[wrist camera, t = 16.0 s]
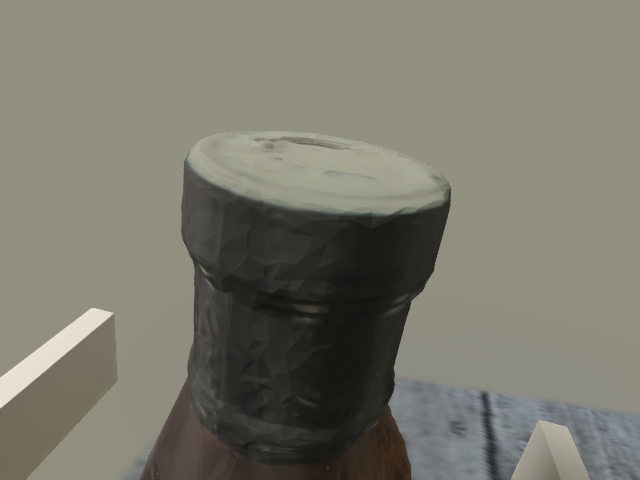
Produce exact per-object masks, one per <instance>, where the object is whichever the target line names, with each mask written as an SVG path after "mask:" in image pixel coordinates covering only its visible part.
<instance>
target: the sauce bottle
mask: <svg viewBox="0 0 640 480" xmlns="http://www.w3.org/2000/svg"><path fill="white" fill-rule="evenodd" d="M183 189H184V190H183V198H182V206H181V207H182V226H181V227H182V228H181V233H182V238H183V241H184V243H185V245H186V247H187V249H188V252H189V255H190V257H191V258H192V260H193V263H194V268H195V276H194V286H195V295H194V342H193V345H192V347H191V350H190V356H189V360H188V377H187V379H186V381H185V383H184V385H183V387H182V390H181V392H180V394H179V396H178V398H177V400H176V402H175V404H174V406H173V408H172V410H171V412H170V414H169V416H168V418H167V421H166V423H165V425H164V427H163V429H162V431H161V433H160V435H159V437H158V439H157V441H156V443H155V445H154V447H153V449H152V451H151V454H150V456H149V458H148V460H147V462H146V464H145V466H144V469H143V471H142V473H141V476H140V479H139V480H412V479H411V465H410V462H409V460H408V457H407V451H406V447H405V442H404V439H403V437H402V436H401V434H400V432H399V429H398V427H397V424H396V422H395V419H394V418H393V417H392V414H391V409H390V407H389V405H388V402H389V400H390V398H391V396H392V394H393V391H394V386H395V383H394V376H395V373H394V369H393V367H394V364H395V359H396V356H397V352H398V348H399V344H400V340H401V337H402V333H403V329H404V325H405V322H406V318H407V315H408V312H409V309H410V305H411V301H412V300H413V299H414V298H415V297H416V296H417V295H418V294H420V292H422V291H423V289H424V287H425V284H426V282H427V281H428V279H429V277H430V276H431V274H432V273H433V271H434V266H435V261H436V258H437V254H438V250H439V247H440V243H441V239H442V236H443V232H444V228H445V225H446V221H447V217H448V213H449V209H450V197H451V188H450V185H449V183H448V181H447V180H446V179H445V177H444V176H442V174H441V173H439V172H438V171H436V170H434V169H433V168H432V167H431V166H429V165H428V164H424V163H421V162H419V161H416V160H414V159H412V158H411V157H409V156H407V155H405V154H402V153H399V152H396V151H394V150H391V149H388V148H385V147H381V146H375V145H373V144H370V143H365V142H360V141H356V140H351V139H346V138H341V137H333V136H324V135H321V134H318V133H298V132H284V131H268V132H253V131H242V132H227V133H220V134H216V135H212V136H210V137H207V138H204V139H202V140H200V141H198V142H197V143H196V144H195V146H194V147H193V148H192V150H191V151H190V152H189V154H188V156H187V158H186V160H185V161H184V186H183Z"/></svg>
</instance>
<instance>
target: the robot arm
mask: <svg viewBox="0 0 640 480" xmlns="http://www.w3.org/2000/svg"><path fill="white" fill-rule="evenodd" d="M116 381H117V361H116V342H115V322H114V313H110V312H107V311H103V310H99V309H94V308H91V309H90V310H89V311H87V312H86V313H85V314H83V315H82V316H81V317H79V318H78V319H77V320H75V321H74V322H73V323H72V324H70V325H69V326H68V327H66V328H65V329H64V330H62V331H61V332H60V333H58V334H57V335H56V336H55V337H53V338H52V339H51V340H49V341H48V342H47V343H45V344H44V345H43V346H41V347H40V348H39V349H38V350H36V351H35V352H34V353H32V354H31V355H30V356H28V357H27V358H26V359H24V360H23V361H22V362H20V363H19V364H18V365H16V366H15V367H14V368H13V369H11V370H10V371H9V372H7V373H6V374H5V375H3V376H2V377H1V378H0V480H26V479H27V477H28V476H29V475H30V474H31V473H32V472H33V471H34V470H35V469H36V468H37V467H38V466H39V465H40V463H41V462H42V461H43V460H44V459H45V458H46V457H47V456H48V455H49V454H50V453H51V452H52V450H53V449H54V448H55V447H56V446H57V445H58V444H59V443H60V442H61V441H62V440H63V439H64V438H65V437H66V435H67V434H68V433H69V432H70V431H71V430H72V429H73V428H74V427H75V426H76V425H77V423H78V422H79V421H80V420H81V419H82V418H83V417H84V416H85V415H86V414H87V413H88V412H89V410H91V408H92V407H93V406H94V405H95V404H96V403H97V402H98V401H99V400H100V399H101V398H102V396H104V394H105V393H106V392H107V391H108V390H109V389H110V388H111V386H112V385H114V384H115V382H116ZM511 480H590V478H589V476H588V473H587V471H586V469H585V467H584V464H583V462H582V460H581V457H580V455H579V453H578V451H577V448H576V446H575V444H574V441H573V439H572V437H571V435H570V432H569V430H568V428H567V427H565V426H561V425H558V424H554V423H550V422H546V421H542V420H539V421H538V423H537V425H536V427H535V429H534V431H533V434H532V436H531V438H530V440H529V442H528V444H527V446H526V448H525V450H524V452H523V455H522V457H521V459H520V461H519V463H518V465H517V467H516V469H515V471H514V473H513V476H512V478H511Z"/></svg>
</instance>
